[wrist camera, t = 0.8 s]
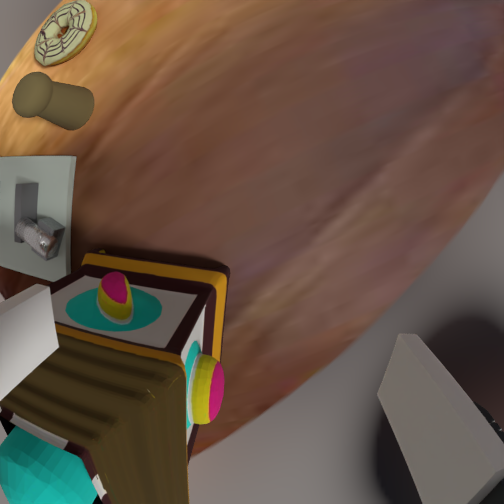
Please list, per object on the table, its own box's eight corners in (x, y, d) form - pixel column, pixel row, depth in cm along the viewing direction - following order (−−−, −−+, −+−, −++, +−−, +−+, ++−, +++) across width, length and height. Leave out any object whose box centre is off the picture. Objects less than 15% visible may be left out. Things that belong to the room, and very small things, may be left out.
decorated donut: (41, 36, 29) (28, 28, 25) (95, -4, 28) (84, -14, 24) (48, 81, 31) (33, 75, 27) (107, 39, 29) (94, 28, 26)
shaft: (31, 237, 34) (12, 243, 30) (39, 209, 33) (19, 212, 29) (59, 258, 34) (41, 266, 30) (68, 229, 34) (48, 234, 29)
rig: (-10, 157, 33) (-29, 157, 28) (76, 156, 33) (55, 154, 28) (-11, 259, 37) (-29, 265, 32) (71, 282, 36) (51, 293, 32)
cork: (52, 117, 32) (-2, 105, 21) (77, 80, 31) (26, 57, 20) (76, 138, 32) (20, 129, 22) (102, 99, 31) (51, 77, 20)
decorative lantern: (98, 365, 39) (-15, 507, 10) (89, 234, 35) (-120, 322, 6) (229, 394, 39) (191, 600, 9) (245, 254, 35) (166, 514, 5)
